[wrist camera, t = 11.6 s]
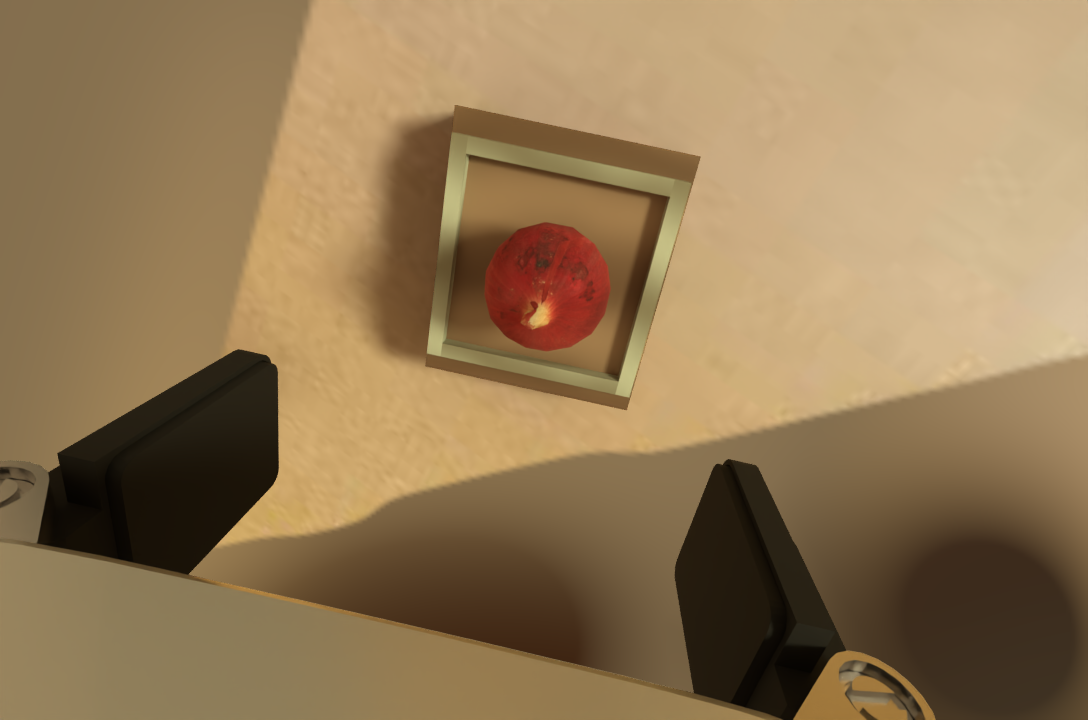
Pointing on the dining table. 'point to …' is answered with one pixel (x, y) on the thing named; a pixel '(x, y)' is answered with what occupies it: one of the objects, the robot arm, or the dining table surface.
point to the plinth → (566, 199)
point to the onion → (547, 287)
